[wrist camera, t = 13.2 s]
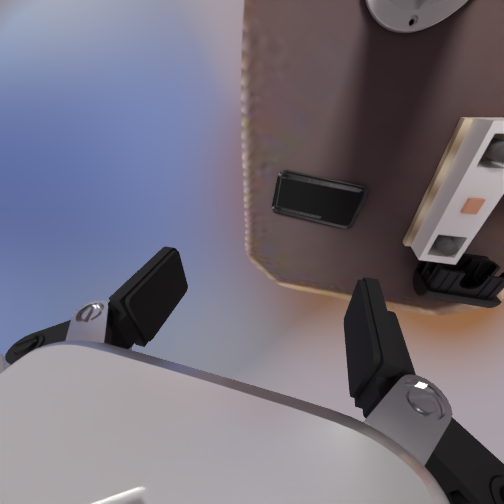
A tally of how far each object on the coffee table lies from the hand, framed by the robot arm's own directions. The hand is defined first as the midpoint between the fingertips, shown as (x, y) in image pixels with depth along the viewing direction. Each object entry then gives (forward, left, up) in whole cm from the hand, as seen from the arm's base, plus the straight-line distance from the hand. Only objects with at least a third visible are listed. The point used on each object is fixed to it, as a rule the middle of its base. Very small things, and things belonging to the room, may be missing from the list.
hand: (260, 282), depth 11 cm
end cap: (+18, +28, -31) cm, 45 cm away
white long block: (+4, +22, -29) cm, 37 cm away
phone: (+7, +3, -31) cm, 32 cm away
